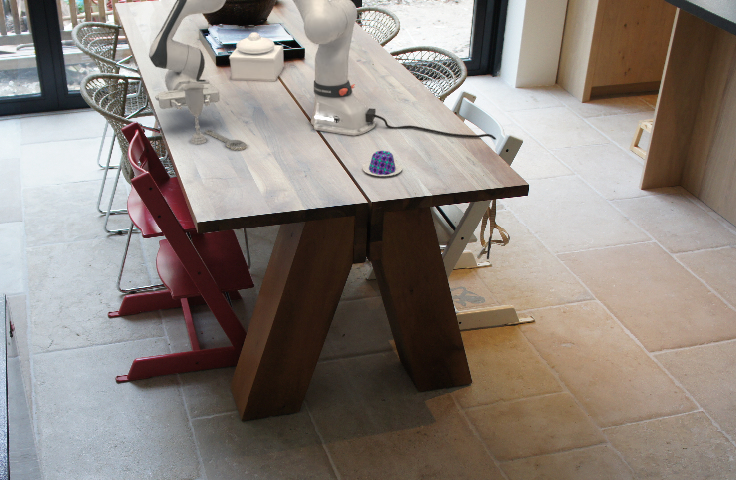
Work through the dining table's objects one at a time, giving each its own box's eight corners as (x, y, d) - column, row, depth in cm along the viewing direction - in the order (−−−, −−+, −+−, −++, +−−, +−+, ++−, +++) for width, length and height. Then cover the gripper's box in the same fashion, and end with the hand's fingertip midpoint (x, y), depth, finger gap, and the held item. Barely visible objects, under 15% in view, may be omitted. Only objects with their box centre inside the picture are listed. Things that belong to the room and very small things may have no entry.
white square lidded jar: (283, 67, 341) (282, 26, 332) (274, 81, 327) (273, 39, 318) (241, 65, 344) (239, 25, 335) (230, 80, 329) (227, 38, 320)
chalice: (190, 136, 281) (184, 83, 271) (210, 136, 281) (205, 83, 271) (186, 145, 275) (181, 90, 265) (207, 145, 275) (202, 90, 265)
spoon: (200, 133, 283) (200, 131, 283) (213, 129, 286) (213, 127, 285) (236, 151, 270) (235, 149, 269) (249, 147, 272) (249, 144, 272)
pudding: (410, 169, 256) (411, 152, 253) (386, 181, 249) (386, 165, 246) (378, 159, 263) (379, 143, 260) (354, 171, 255) (354, 155, 252)
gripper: (152, 86, 280) (160, 99, 270) (212, 79, 286) (222, 91, 275) (155, 105, 284) (163, 118, 273) (214, 97, 289) (224, 110, 278)
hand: (193, 105), depth 274 cm, fingers open, 8 cm apart
